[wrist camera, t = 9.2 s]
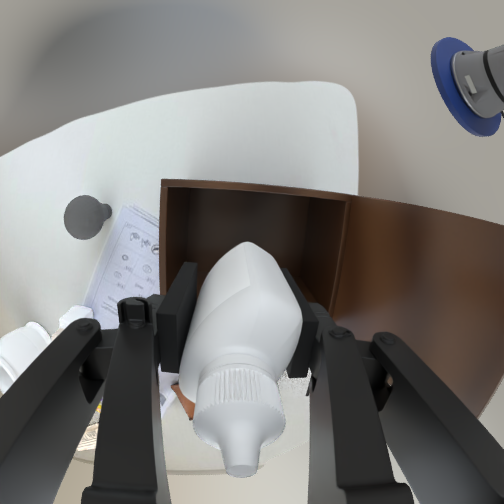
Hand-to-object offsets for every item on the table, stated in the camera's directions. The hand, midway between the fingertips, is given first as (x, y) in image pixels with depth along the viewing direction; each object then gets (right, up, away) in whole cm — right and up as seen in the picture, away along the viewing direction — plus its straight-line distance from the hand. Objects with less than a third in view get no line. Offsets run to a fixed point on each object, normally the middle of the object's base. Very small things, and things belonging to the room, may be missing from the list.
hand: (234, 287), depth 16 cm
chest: (0, +5, +23) cm, 23 cm away
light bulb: (-20, +8, +21) cm, 30 cm away
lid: (+12, -1, +1) cm, 12 cm away
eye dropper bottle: (0, 0, 0) cm, 0 cm away
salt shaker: (-28, -9, +24) cm, 38 cm away
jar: (-42, -16, +25) cm, 52 cm away
